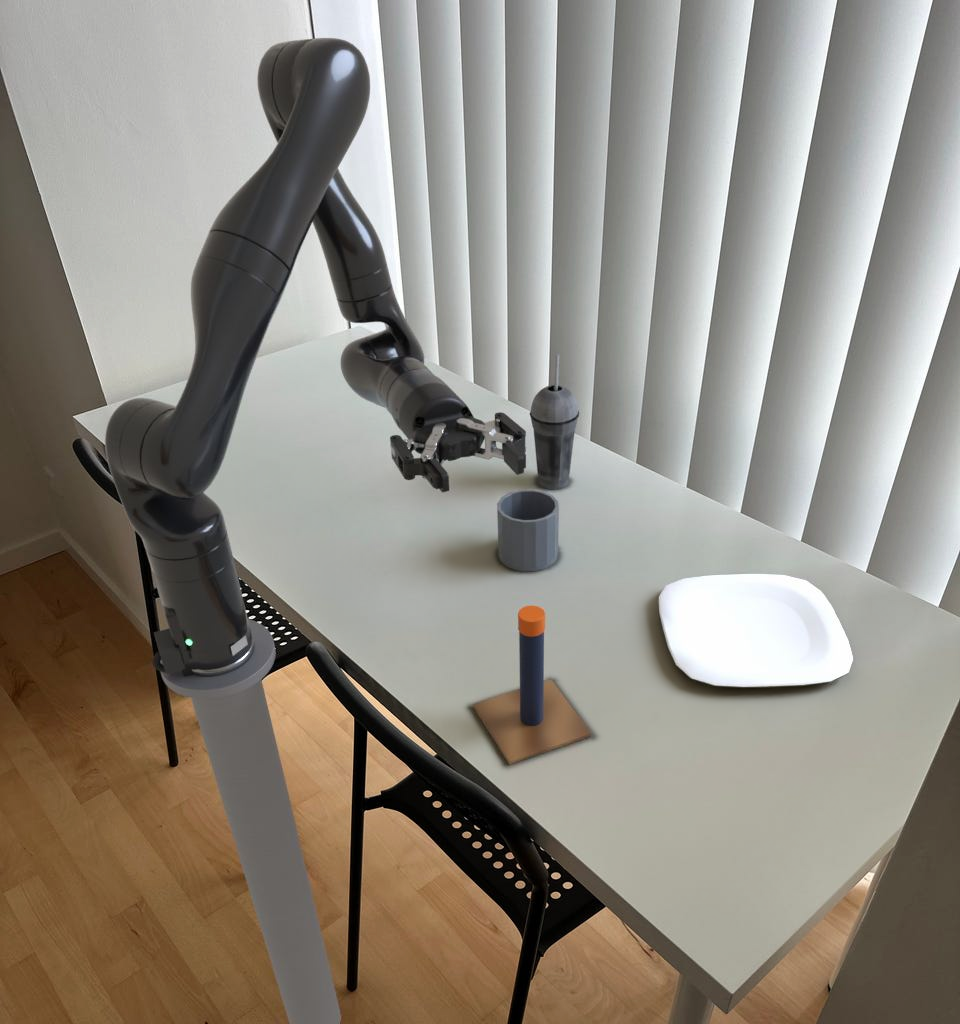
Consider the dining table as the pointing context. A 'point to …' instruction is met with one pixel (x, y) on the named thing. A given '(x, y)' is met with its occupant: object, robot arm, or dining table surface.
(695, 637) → the plate
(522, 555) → the pot
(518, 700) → the mat
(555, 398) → the beverage cup
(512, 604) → the dining table surface
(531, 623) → the marker
